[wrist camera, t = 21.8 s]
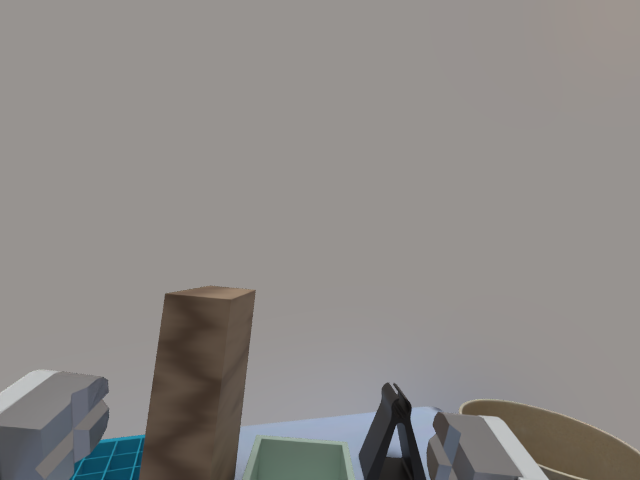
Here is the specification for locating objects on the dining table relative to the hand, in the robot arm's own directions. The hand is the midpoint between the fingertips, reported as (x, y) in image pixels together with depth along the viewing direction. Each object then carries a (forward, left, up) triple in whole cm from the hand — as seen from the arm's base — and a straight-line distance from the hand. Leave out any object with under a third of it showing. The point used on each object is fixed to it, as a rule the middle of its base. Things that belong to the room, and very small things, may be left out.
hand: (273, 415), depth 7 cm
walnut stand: (-9, +26, -26) cm, 38 cm away
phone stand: (+16, +40, -26) cm, 50 cm away
